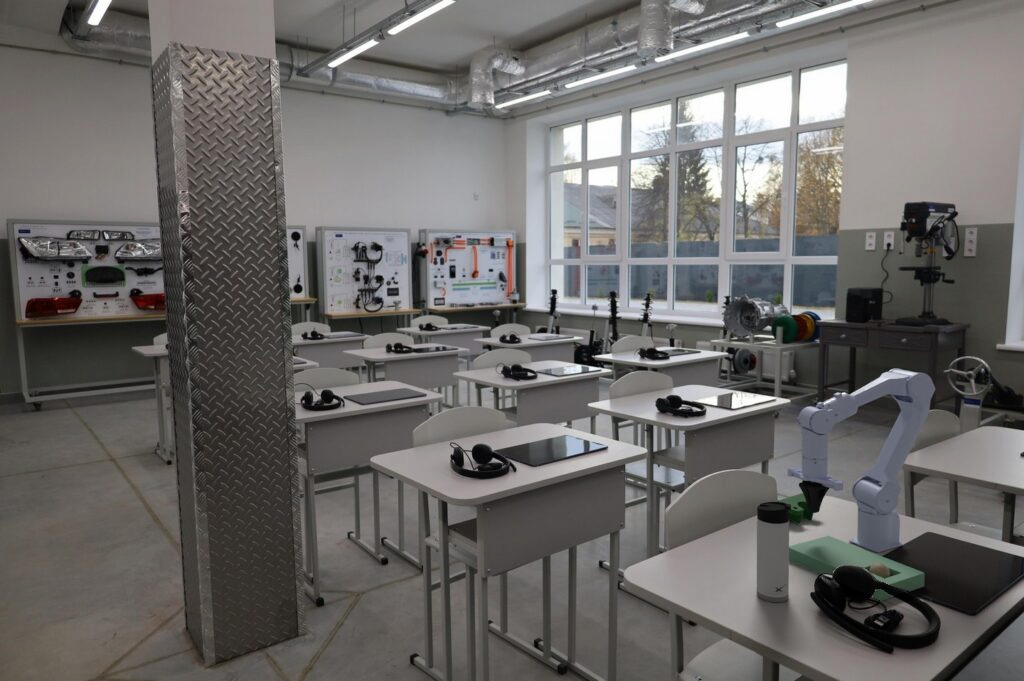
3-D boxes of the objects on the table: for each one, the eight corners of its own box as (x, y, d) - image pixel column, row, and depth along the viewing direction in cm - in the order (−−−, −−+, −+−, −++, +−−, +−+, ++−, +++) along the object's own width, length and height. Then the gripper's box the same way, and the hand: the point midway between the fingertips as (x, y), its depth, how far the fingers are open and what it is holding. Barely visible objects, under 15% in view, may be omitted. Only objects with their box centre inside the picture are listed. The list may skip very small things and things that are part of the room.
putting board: (786, 559, 160) (786, 546, 159) (828, 547, 166) (828, 535, 165) (880, 601, 138) (880, 587, 138) (924, 586, 144) (924, 572, 144)
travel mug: (787, 606, 137) (788, 510, 135) (753, 598, 141) (753, 505, 139) (792, 593, 142) (793, 501, 141) (760, 586, 146) (760, 496, 144)
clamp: (793, 539, 182) (791, 515, 178) (774, 528, 187) (773, 504, 183) (822, 515, 187) (821, 491, 182) (803, 505, 192) (802, 481, 187)
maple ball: (877, 578, 149) (880, 560, 149) (893, 585, 145) (895, 566, 145) (863, 577, 147) (866, 559, 147) (878, 584, 144) (881, 566, 144)
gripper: (778, 452, 167) (778, 505, 169) (828, 466, 154) (827, 524, 156) (799, 448, 170) (798, 501, 172) (849, 462, 157) (848, 518, 159)
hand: (813, 511), depth 164 cm, fingers closed
